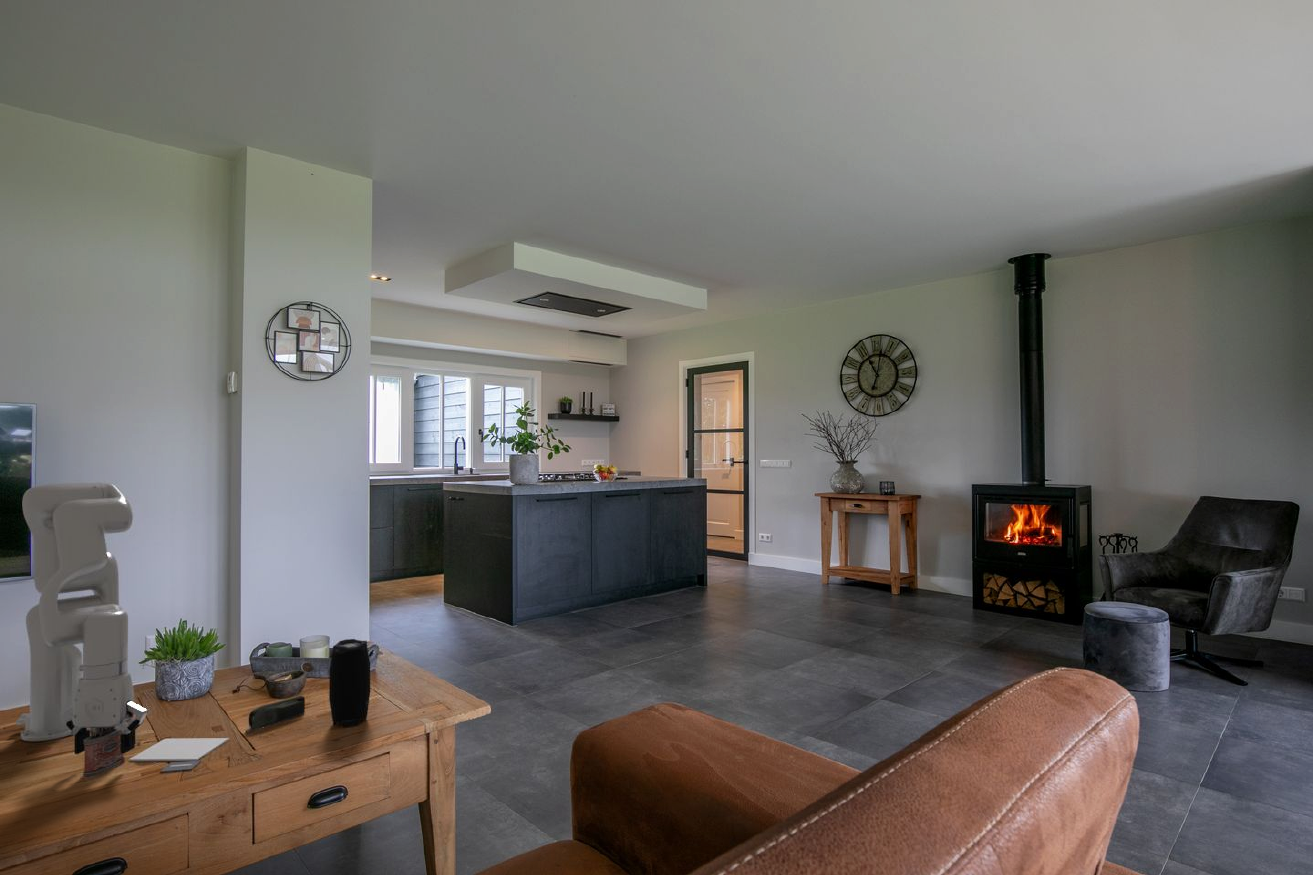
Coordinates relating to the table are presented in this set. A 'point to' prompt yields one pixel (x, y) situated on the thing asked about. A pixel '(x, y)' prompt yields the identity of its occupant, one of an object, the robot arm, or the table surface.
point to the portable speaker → (349, 682)
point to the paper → (180, 749)
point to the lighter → (102, 751)
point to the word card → (180, 766)
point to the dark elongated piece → (276, 713)
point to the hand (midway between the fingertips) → (104, 751)
